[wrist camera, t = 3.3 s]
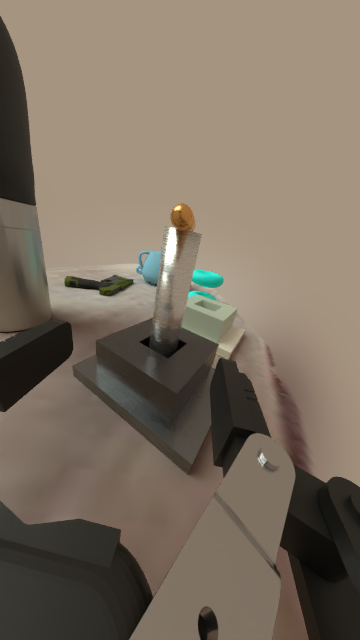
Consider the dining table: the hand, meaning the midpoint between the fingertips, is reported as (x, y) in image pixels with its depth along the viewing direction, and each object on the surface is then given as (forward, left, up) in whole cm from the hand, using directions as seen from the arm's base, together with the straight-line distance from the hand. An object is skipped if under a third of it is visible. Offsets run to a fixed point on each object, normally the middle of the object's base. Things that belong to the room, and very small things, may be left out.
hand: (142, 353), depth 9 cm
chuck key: (-4, +8, -10) cm, 13 cm away
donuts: (-14, +42, -11) cm, 46 cm away
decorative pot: (-36, +50, -11) cm, 63 cm away
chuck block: (-4, +8, -11) cm, 14 cm away
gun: (-42, +28, -12) cm, 52 cm away
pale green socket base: (-6, +26, -11) cm, 29 cm away
